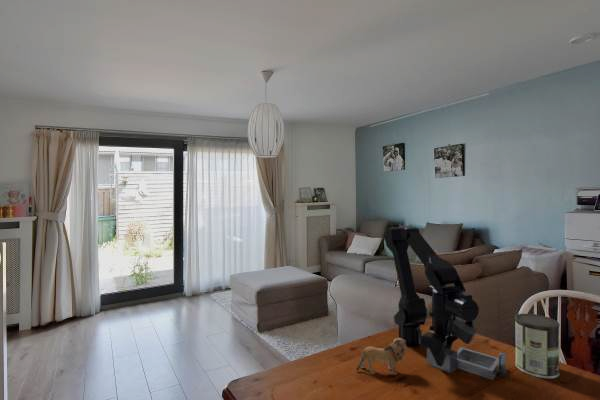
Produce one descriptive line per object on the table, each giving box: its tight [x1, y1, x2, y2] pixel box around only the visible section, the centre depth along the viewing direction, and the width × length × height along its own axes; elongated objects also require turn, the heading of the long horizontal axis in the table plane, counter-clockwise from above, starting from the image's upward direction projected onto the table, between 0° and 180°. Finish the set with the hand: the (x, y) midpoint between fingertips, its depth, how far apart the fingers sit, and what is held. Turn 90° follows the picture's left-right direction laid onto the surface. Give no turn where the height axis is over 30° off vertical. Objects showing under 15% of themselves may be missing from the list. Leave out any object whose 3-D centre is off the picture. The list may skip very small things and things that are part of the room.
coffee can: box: [514, 313, 560, 380], centre depth 94 cm, size 10×10×14 cm
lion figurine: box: [355, 337, 408, 376], centre depth 94 cm, size 15×5×9 cm, turn 94°
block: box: [426, 347, 458, 374], centre depth 97 cm, size 7×4×5 cm, turn 38°
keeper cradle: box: [456, 346, 507, 381], centre depth 95 cm, size 13×9×6 cm
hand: (442, 362), depth 96 cm, fingers open, 4 cm apart
